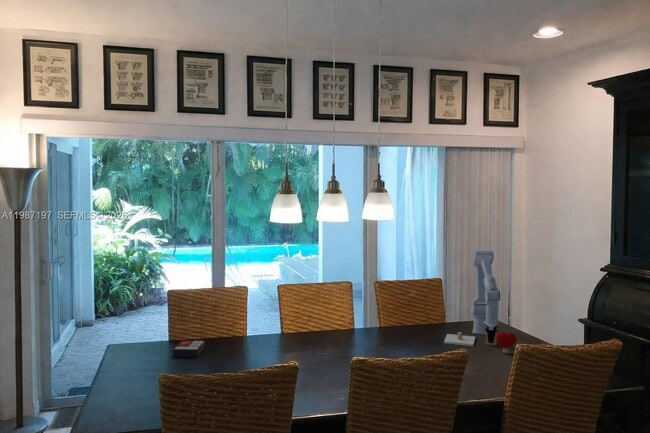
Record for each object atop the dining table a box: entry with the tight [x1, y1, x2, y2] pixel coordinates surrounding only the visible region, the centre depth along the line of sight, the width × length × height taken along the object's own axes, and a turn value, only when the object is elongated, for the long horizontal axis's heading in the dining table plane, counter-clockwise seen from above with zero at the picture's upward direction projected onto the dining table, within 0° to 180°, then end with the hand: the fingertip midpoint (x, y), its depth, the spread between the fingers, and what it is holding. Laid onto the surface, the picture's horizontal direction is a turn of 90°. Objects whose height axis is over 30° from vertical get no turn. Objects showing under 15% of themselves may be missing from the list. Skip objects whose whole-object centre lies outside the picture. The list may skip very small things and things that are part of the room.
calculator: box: [172, 340, 206, 358], centre depth 247 cm, size 11×4×15 cm
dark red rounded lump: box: [496, 331, 518, 355], centre depth 248 cm, size 9×7×10 cm
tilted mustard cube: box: [485, 332, 498, 346], centre depth 264 cm, size 5×5×5 cm
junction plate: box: [443, 331, 476, 347], centre depth 268 cm, size 14×14×4 cm
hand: (491, 340), depth 264 cm, fingers open, 7 cm apart
